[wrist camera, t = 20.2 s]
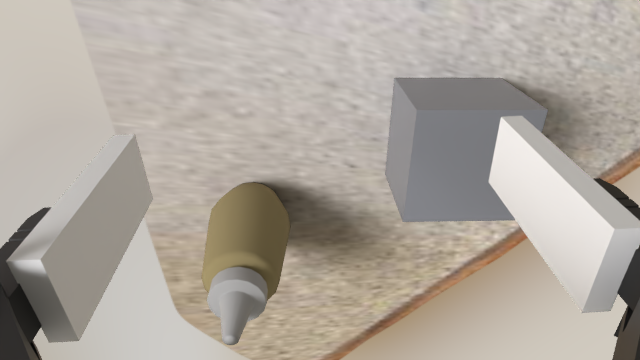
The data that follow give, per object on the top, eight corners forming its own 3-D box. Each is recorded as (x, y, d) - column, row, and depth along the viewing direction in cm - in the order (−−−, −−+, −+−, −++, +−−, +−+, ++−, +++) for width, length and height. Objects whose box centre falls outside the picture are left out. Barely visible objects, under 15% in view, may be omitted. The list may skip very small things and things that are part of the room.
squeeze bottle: (293, 174, 45) (290, 299, 30) (288, 237, 49) (284, 378, 33) (214, 169, 45) (168, 294, 29) (215, 233, 49) (176, 375, 33)
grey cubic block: (394, 77, 41) (416, 110, 33) (501, 78, 41) (548, 109, 34) (385, 174, 46) (402, 221, 38) (481, 173, 46) (517, 220, 39)
